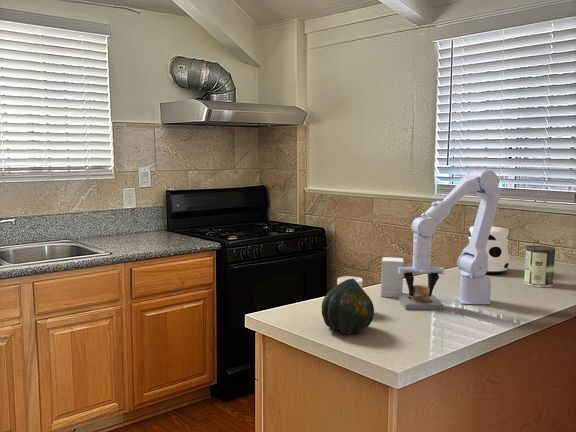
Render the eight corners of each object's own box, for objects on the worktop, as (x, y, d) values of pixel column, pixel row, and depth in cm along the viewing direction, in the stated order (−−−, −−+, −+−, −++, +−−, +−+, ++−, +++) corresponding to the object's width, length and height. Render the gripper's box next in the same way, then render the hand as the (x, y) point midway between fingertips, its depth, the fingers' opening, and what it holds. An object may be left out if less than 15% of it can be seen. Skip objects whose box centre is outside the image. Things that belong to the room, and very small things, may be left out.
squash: (322, 321, 151) (358, 277, 153) (305, 307, 165) (337, 267, 167) (359, 352, 155) (393, 309, 157) (339, 336, 169) (370, 297, 171)
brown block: (425, 299, 190) (425, 285, 189) (429, 303, 185) (429, 288, 184) (411, 299, 189) (412, 285, 189) (415, 303, 185) (415, 288, 184)
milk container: (512, 270, 241) (515, 227, 239) (503, 278, 226) (506, 233, 224) (470, 265, 250) (472, 224, 248) (459, 272, 236) (461, 229, 233)
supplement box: (402, 298, 195) (403, 261, 194) (380, 296, 197) (381, 260, 195) (402, 292, 202) (403, 257, 201) (381, 291, 204) (382, 256, 202)
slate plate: (433, 299, 194) (433, 295, 193) (443, 309, 182) (443, 304, 182) (397, 299, 194) (398, 294, 193) (405, 309, 182) (405, 304, 181)
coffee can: (546, 281, 222) (548, 245, 220) (558, 287, 212) (560, 250, 210) (519, 280, 222) (521, 244, 220) (529, 287, 212) (532, 249, 210)
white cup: (364, 308, 183) (364, 277, 182) (358, 315, 175) (359, 283, 174) (340, 305, 185) (340, 275, 184) (333, 312, 178) (334, 280, 177)
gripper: (402, 256, 182) (400, 298, 183) (447, 257, 182) (445, 298, 183) (397, 252, 189) (396, 292, 190) (441, 253, 189) (439, 293, 190)
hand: (420, 295), depth 187 cm, fingers open, 5 cm apart
